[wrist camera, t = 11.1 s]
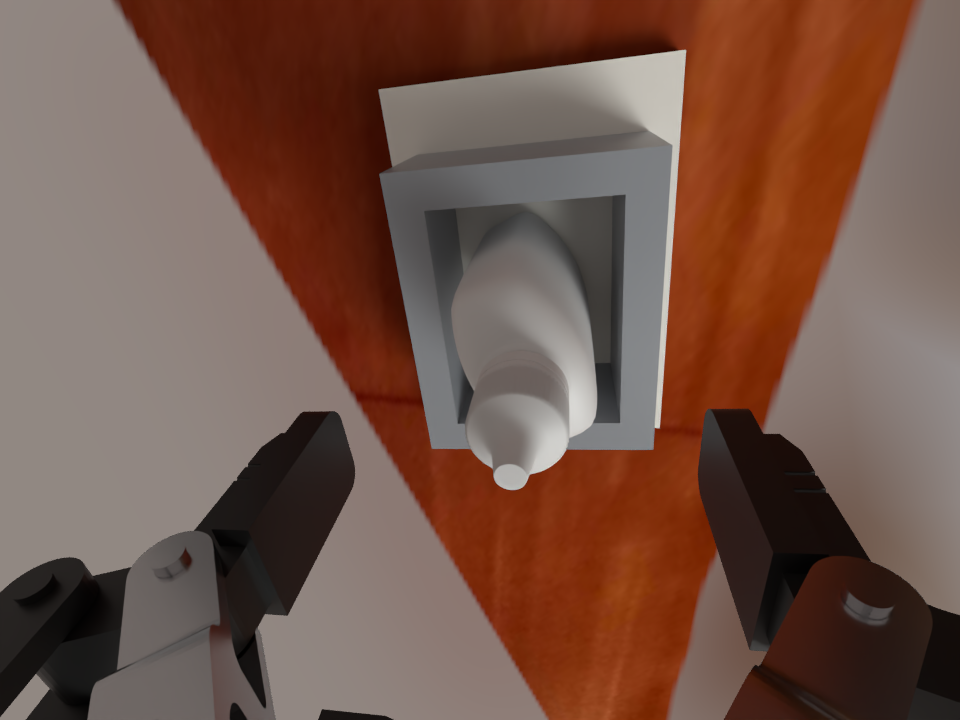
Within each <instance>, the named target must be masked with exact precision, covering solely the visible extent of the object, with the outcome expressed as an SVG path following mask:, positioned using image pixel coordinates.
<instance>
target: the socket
mask: <svg viewBox="0 0 960 720" xmlns="http://www.w3.org/2000/svg"><path fill="white" fill-rule="evenodd" d="M685 58H686V50H680V51H673V52H665V53H657V54H649V55H642V56H634V57H626V58H618V59H611V60H603V61H595V62H587V63H580V64H572V65H564V66H556V67H549V68H541V69H533V70H525V71H518V72H510V73H502V74H494V75H487V76H479V77H471V78H463V79H456V80H448V81H440V82H432V83H425V84H417V85H409V86H401V87H394V88H386V89H378V90H379V96H380V101H381V107H382V112H383V118H384V124H385V129H386V135H387V140H388V146H389V151H390V157H391V162H392V168H390V169H388V170H386V171H384V172H382V173H380V174H379V176H380V181H381V186H382V191H383V196H384V201H385V207H386V212H387V217H388V222H389V228H390V233H391V238H392V243H393V248H394V253H395V259H396V264H397V269H398V274H399V279H400V285H401V290H402V295H403V300H404V305H405V311H406V316H407V321H408V326H409V331H410V337H411V342H412V347H413V352H414V357H415V363H416V368H417V373H418V378H419V383H420V389H421V394H422V399H423V404H424V409H425V415H426V420H427V425H428V430H429V435H430V441H431V446H432V449H470V446H469V445H468V441H467V440H466V438H467V437H466V436H465V433H466V432H465V423H466V422H465V421H466V418H467V414H468V411H469V407H470V404H471V400H472V397H473V394H474V390H473V388H472V387H471V385H470V383H469V381H468V379H467V377H466V374H465V372H464V369H463V367H462V364H461V362H460V359H459V356H458V352H457V348H456V344H455V339H454V334H453V326H452V315H451V308H452V303H453V299H454V295H455V292H456V290H457V288H458V286H459V283H460V281H461V279H462V277H463V275H464V273H465V271H466V269H467V267H468V265H469V263H470V261H471V259H472V257H473V255H474V254H475V252H476V250H477V248H478V246H479V244H480V242H481V240H482V238H483V236H484V235H485V234H486V233H487V231H488V230H489V229H491V228H492V227H494V226H496V225H498V224H500V223H501V222H503V221H505V220H507V219H509V218H511V217H513V216H515V215H517V214H519V213H523V212H529V213H532V214H535V215H536V216H538V217H539V218H541V219H542V220H543V221H544V222H545V223H547V224H548V225H549V226H550V227H551V228H552V229H553V230H554V231H555V232H556V233H557V235H558V236H559V237H560V238H561V239H562V241H563V242H564V243H565V244H566V246H567V247H568V249H569V250H570V252H571V254H572V255H573V257H574V259H575V261H576V263H577V265H578V267H579V269H580V272H581V275H582V277H583V281H584V284H585V288H586V292H587V297H588V304H589V313H590V323H591V332H592V342H593V352H594V362H595V373H596V385H597V409H596V417H595V419H594V421H593V423H592V425H591V426H590V427H589V428H588V429H586V430H585V431H584V432H582V433H580V434H578V435H576V436H573V437H570V438H569V443H568V447H567V448H566V449H589V450H653V444H654V428H660V417H661V402H662V388H663V374H664V359H665V345H666V331H667V316H668V302H669V288H670V273H671V259H672V245H673V230H674V216H675V202H676V187H677V173H678V159H679V144H680V130H681V116H682V101H683V87H684V73H685Z"/></svg>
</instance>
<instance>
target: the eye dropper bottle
mask: <svg viewBox="0 0 960 720" xmlns="http://www.w3.org/2000/svg"><path fill="white" fill-rule="evenodd" d="M451 315H452V326H453V334H454V339H455V344H456V348H457V352H458V356H459V359H460V362H461V364H462V367H463V369H464V372H465V374H466V377H467V379H468V381H469V383H470V385H471V387H472V388H473V390H474V394H473V397H472V400H471V404H470V407H469V411H468V414H467V418H466V421H465V422H466V423H465V432H466V433H465V436H466V437H467V438H466V440H467V441H468V445H469V446H470V449H471V450H472V452H473V453H474V454H475V456H477V457H478V458H479V459H480V460H481V461H482V462H483V463H485V464H486V465H488V466H489V467H491V468H493V475H494V480H495V482H496V483H497V484H498V485H499V486H500V487H502V488H504V489H508V490H517V489H520V488H522V487H523V486H524V485H525V484H526V482H527V480H528V477H529V475H530V474H533V473H537V472H541V471H543V470H546V469H547V468H550V466H552V465H554V463H556V462H558V460H559V459H561V456H563V455H564V452H565V451H566V448H567V447H568V443H569V438H570V437H573V436H576V435H578V434H580V433H582V432H584V431H585V430H586V429H588V428H589V427H590V426H591V425H592V423H593V421H594V419H595V417H596V409H597V385H596V373H595V362H594V352H593V342H592V332H591V323H590V313H589V304H588V297H587V292H586V288H585V284H584V281H583V277H582V275H581V272H580V269H579V267H578V265H577V263H576V261H575V259H574V257H573V255H572V254H571V252H570V250H569V249H568V247H567V246H566V244H565V243H564V242H563V241H562V239H561V238H560V237H559V236H558V235H557V233H556V232H555V231H554V230H553V229H552V228H551V227H550V226H549V225H548V224H547V223H545V222H544V221H543V220H542V219H541V218H539V217H538V216H536V215H535V214H532V213H529V212H523V213H519V214H517V215H515V216H513V217H511V218H509V219H507V220H505V221H503V222H501V223H500V224H498V225H496V226H494V227H492V228H491V229H489V230H488V231H487V233H486V234H485V235H484V236H483V238H482V240H481V242H480V244H479V246H478V248H477V250H476V252H475V254H474V255H473V257H472V259H471V261H470V263H469V265H468V267H467V269H466V271H465V273H464V275H463V277H462V279H461V281H460V283H459V286H458V288H457V290H456V292H455V295H454V299H453V303H452V308H451Z"/></svg>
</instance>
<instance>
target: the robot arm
mask: <svg viewBox="0 0 960 720" xmlns="http://www.w3.org/2000/svg"><path fill="white" fill-rule="evenodd" d="M354 479H355V466H354V461H353V457H352V454H351V451H350V448H349V444H348V441H347V437H346V434H345V431H344V427H343V424H342V420H341V418H340V416H339V414H338V413H336V412H335V411H329V412H302V413H301V414H300V415H299V416H298V417H297V418H296V420H295V421H294V422H293V424H292V425H291V426H290V427H289V429H288V430H287V432H286V433H281V434H279V435H278V436H276V437H275V438H274V439H272V440H271V441H270V442H268V443H267V444H265V445H264V446H263V447H261V449H260V450H259V451H258V452H257V453H256V455H255V456H254V457H253V458H252V460H251V461H250V462H249V463H248V467H245V468H244V470H243V471H242V472H241V473H240V475H239V476H238V477H237V481H234V482H233V483H232V485H231V486H230V487H229V488H228V489H227V491H226V492H225V493H224V494H223V496H222V497H221V498H220V499H219V501H218V502H217V503H216V504H215V506H214V507H213V508H212V509H211V510H210V512H209V513H208V514H207V515H206V517H205V518H204V519H203V521H202V522H201V523H200V524H199V525H198V527H197V528H196V529H195V530H194V531H187V532H182V533H178V534H175V535H172V536H170V537H168V538H166V539H164V540H162V541H160V542H158V543H157V544H155V545H154V546H153V547H151V548H149V549H148V550H147V551H146V552H144V553H143V554H142V555H141V556H140V557H139V558H138V560H137V561H136V562H135V563H134V564H133V566H132V567H130V568H126V569H122V570H118V571H113V572H109V573H104V574H100V575H95V576H92V575H91V573H90V572H89V570H88V569H87V568H86V566H85V565H84V563H83V562H82V561H81V560H79V559H77V558H70V557H69V558H60V559H56V560H53V561H49V562H47V563H44V564H42V565H40V566H38V567H36V568H33V569H31V570H30V571H28V572H26V573H25V574H23V575H21V576H20V577H19V578H17V579H16V580H14V581H13V582H12V583H10V584H9V585H8V586H7V587H6V588H5V589H4V590H3V591H1V592H0V717H1V715H2V714H3V713H4V712H5V710H6V709H7V708H8V707H9V706H10V705H11V703H12V702H13V701H14V699H15V698H16V697H17V696H18V695H19V694H20V692H21V691H22V690H23V689H24V688H25V686H26V685H27V684H28V683H29V681H30V680H31V679H32V678H33V677H34V675H35V674H37V675H38V676H39V677H40V678H41V679H42V681H43V682H44V683H45V684H46V685H47V686H48V687H49V688H50V690H49V691H48V692H47V693H46V695H45V696H44V697H43V698H42V700H41V701H40V703H39V704H38V705H37V706H36V707H35V709H34V710H33V711H32V713H31V714H30V715H29V716H28V718H27V719H26V720H276V718H275V712H274V707H273V701H272V695H271V689H270V683H269V678H268V672H267V667H266V660H265V655H264V649H263V643H262V637H261V634H260V631H259V630H258V625H259V624H260V622H261V620H262V618H263V616H264V615H265V614H272V615H286V616H287V615H288V614H289V612H290V610H291V608H292V606H293V604H294V602H295V600H296V598H297V596H298V594H299V592H300V590H301V588H302V586H303V584H304V582H305V580H306V578H307V577H308V575H309V572H310V571H311V569H312V567H313V565H314V563H315V561H316V559H317V557H318V555H319V553H320V551H321V549H322V547H323V545H324V543H325V541H326V539H327V537H328V535H329V533H330V531H331V529H332V527H333V525H334V523H335V521H336V520H337V517H338V516H339V514H340V512H341V510H342V508H343V506H344V504H345V502H346V500H347V498H348V496H349V494H350V492H351V490H352V487H353V484H354ZM698 481H699V490H700V495H701V499H702V502H703V505H704V508H705V512H706V515H707V518H708V521H709V524H710V527H711V530H712V534H713V537H714V540H715V543H716V546H717V549H718V552H719V555H720V558H721V562H722V565H723V568H724V571H725V574H726V577H727V580H728V583H729V586H730V590H731V593H732V596H733V599H734V602H735V605H736V609H737V612H738V615H739V618H740V621H741V624H742V627H743V631H744V634H745V637H746V640H747V643H748V646H749V649H750V650H754V651H767V653H766V655H765V657H764V659H763V661H762V662H761V664H760V665H759V666H757V665H755V666H754V667H753V668H752V669H751V671H750V672H749V674H748V675H747V677H746V679H745V681H744V683H743V684H742V687H741V688H740V690H739V692H738V694H737V696H736V698H735V700H734V701H733V703H732V705H731V707H730V709H729V711H728V713H727V715H726V716H725V718H724V720H960V615H957V614H953V613H950V612H947V611H944V610H941V609H938V608H935V607H933V606H931V605H928V604H926V602H925V600H924V599H923V597H922V596H921V595H920V594H919V593H918V592H917V590H916V589H914V588H913V587H912V586H911V585H910V584H909V583H908V582H907V581H905V580H904V579H903V578H901V577H900V576H899V575H897V574H895V573H894V572H892V571H890V570H889V569H887V568H885V567H883V566H881V565H878V564H876V563H873V562H871V560H870V559H869V557H868V556H867V554H866V553H865V551H864V549H863V548H862V546H861V545H860V543H859V541H858V540H857V538H856V537H855V535H854V533H853V532H852V530H851V529H850V527H849V525H848V524H847V522H846V521H845V519H844V518H843V516H842V514H841V513H840V511H839V509H838V508H837V506H836V505H835V503H834V501H833V500H832V498H831V497H830V495H829V494H828V493H826V489H825V487H824V485H823V484H822V482H821V481H820V479H819V477H818V476H815V471H814V469H813V468H812V466H811V464H810V463H809V461H808V460H807V458H806V456H805V455H804V454H803V452H802V451H801V450H800V449H799V448H797V447H796V446H794V445H793V444H792V443H791V442H789V441H788V440H787V439H785V438H784V437H783V436H782V435H780V434H763V432H762V431H761V429H760V427H759V425H758V423H757V421H756V420H755V418H754V416H753V414H752V412H751V411H750V410H749V409H708V410H707V411H706V414H705V418H704V426H703V434H702V442H701V451H700V459H699V467H698ZM318 720H393V719H391V718H389V717H387V716H381V715H370V714H361V713H352V712H342V711H333V710H323V709H322V711H321V714H320V716H319V719H318Z"/></svg>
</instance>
